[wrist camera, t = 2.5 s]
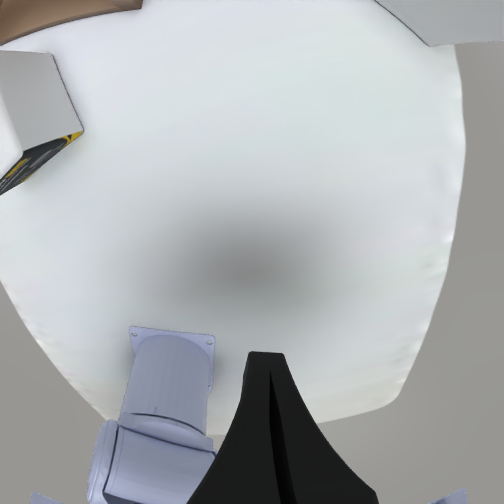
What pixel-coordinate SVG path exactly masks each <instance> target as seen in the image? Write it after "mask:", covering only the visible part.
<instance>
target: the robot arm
mask: <svg viewBox="0 0 504 504" xmlns="http://www.w3.org/2000/svg"><path fill="white" fill-rule="evenodd" d="M132 333H136V334H137V336H134V335H133V334H132ZM129 334H130V338H131V343H132V347H133V352H134V356H135V360H134V363H133V367H132V370H131V374H130V378H129V381H128V385H127V389H126V392H125V396H124V400H123V404H122V408H121V412H120V416H119V419H118V421H115V420H112V419H109V420H108V421H106V422H104V423H102V424H101V427H100V429H99V433H98V436H97V440H96V443H95V447H94V451H93V455H92V459H91V464H90V469H89V475H88V486H87V495H86V498H87V500H88V501H89V504H379V502H378V499H377V496H376V493H375V491H374V490H373V489H372V488H370V487H369V486H368V485H367V484H366V483H365V482H364V481H362V480H361V479H360V478H359V477H358V476H357V475H356V474H355V473H354V472H353V471H352V470H351V469H350V468H349V467H348V466H347V464H345V462H344V461H343V460H342V459H341V457H340V456H339V455H338V454H337V453H336V452H335V450H334V449H333V448H332V446H331V445H330V444H329V442H328V441H327V440H326V438H325V437H324V435H323V434H322V432H321V431H320V429H319V428H318V426H317V425H316V423H315V421H314V420H313V418H312V416H311V414H310V413H309V411H308V409H307V407H306V405H305V403H304V401H303V399H302V397H301V395H300V393H299V391H298V389H297V387H296V385H295V382H294V380H293V378H292V375H291V373H290V370H289V368H288V365H287V362H286V359H285V356H284V354H283V353H271V352H255V351H251V352H249V353H248V358H247V362H246V366H245V371H244V375H243V385H242V393H241V399H240V402H239V405H238V408H237V411H236V413H235V416H234V419H233V421H232V424H231V426H230V428H229V431H228V433H227V435H226V437H225V439H224V441H223V443H222V446H221V448H220V450H219V451H217V450H213V439H212V438H209V437H206V416H207V396H208V392H211V391H212V382H213V365H214V349H215V337H214V336H212V335H206V334H195V333H185V332H175V331H167V330H158V329H150V328H143V327H136V326H130V327H129ZM208 341H210V342H212V344H207V342H208ZM208 384H209V385H210V386H208ZM30 504H64V503H61V502H59V501H56V500H54V499H50V498H47V497H45V496H43V495H41V494H39V493H36V492H32V496H31V501H30ZM427 504H469V503H468V498H467V494H466V490H465V488H462V489H459V490H457V491H455V492H453V493H451V494H449V495H447V496H444V497H441V498H439V499H436V500H434V501H431V502H429V503H427Z"/></svg>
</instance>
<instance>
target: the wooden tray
mask: <svg viewBox="0 0 504 504" xmlns="http://www.w3.org/2000/svg"><path fill="white" fill-rule="evenodd" d="M142 2H143V0H0V45H3V44H5V43H7V42H10V41H12V40H15V39H17V38H20V37H22V36H25V35H28V34H30V33H33V32H36V31H39V30H42V29H45V28H48V27H52V26H55V25H59V24H62V23H66V22H70V21H74V20H78V19H82V18H87V17H91V16H96V15H101V14H107V13H113V12H120V11H127V10H135V9H141V6H142Z"/></svg>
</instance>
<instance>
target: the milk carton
mask: <svg viewBox="0 0 504 504" xmlns="http://www.w3.org/2000/svg"><path fill="white" fill-rule="evenodd" d="M376 1H377V2H378V3H380V4H381V5H382V6H384V7H385V8H386V9H387V10H389V11H390V12H391V13H392V14H394V15H395V16H396V17H397V18H399V19H400V20H401V21H402V22H403V23H404V24H406V25H407V26H408V27H409V28H410V29H411V30H412V31H413V32H415V33H416V34H417V35H418V36H419V37H420V38H421V39H422V40H423V41H424V42H425V43H426V44H428V45H429V46H439V45H448V44H458V43H473V42H504V0H376Z"/></svg>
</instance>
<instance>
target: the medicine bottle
mask: <svg viewBox="0 0 504 504" xmlns="http://www.w3.org/2000/svg"><path fill="white" fill-rule="evenodd" d="M82 132H83V128H82V126H81V124H80V121H79V119H78V117H77V115H76V113H75V110H74V108H73V106H72V104H71V101H70V99H69V97H68V94H67V92H66V89H65V87H64V85H63V82H62V80H61V77H60V75H59V72H58V70H57V67H56V64H55V62H54V59H53V56H52V55H51V54H45V53H35V52H22V51H0V195H2V194H3V193H5V192H7V191H8V190H10V189H12V188H13V187H15V186H17V185H18V184H20V183H22V182H24V181H25V180H26V179H28V178H29V177H30V176H31V175H32V174H33V173H34V172H35V171H36V170H38V169H39V168H40V167H41V166H42V165H43V164H44V163H46V162H47V161H48V160H49V159H50V158H52V157H53V156H54V155H55V154H57V153H58V152H59V151H60V150H62V149H63V148H64V147H65V146H67V145H68V144H69V143H71V142H72V141H73V140H75V139H76V138H77V137H79V136H80V135H81V134H82Z"/></svg>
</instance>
